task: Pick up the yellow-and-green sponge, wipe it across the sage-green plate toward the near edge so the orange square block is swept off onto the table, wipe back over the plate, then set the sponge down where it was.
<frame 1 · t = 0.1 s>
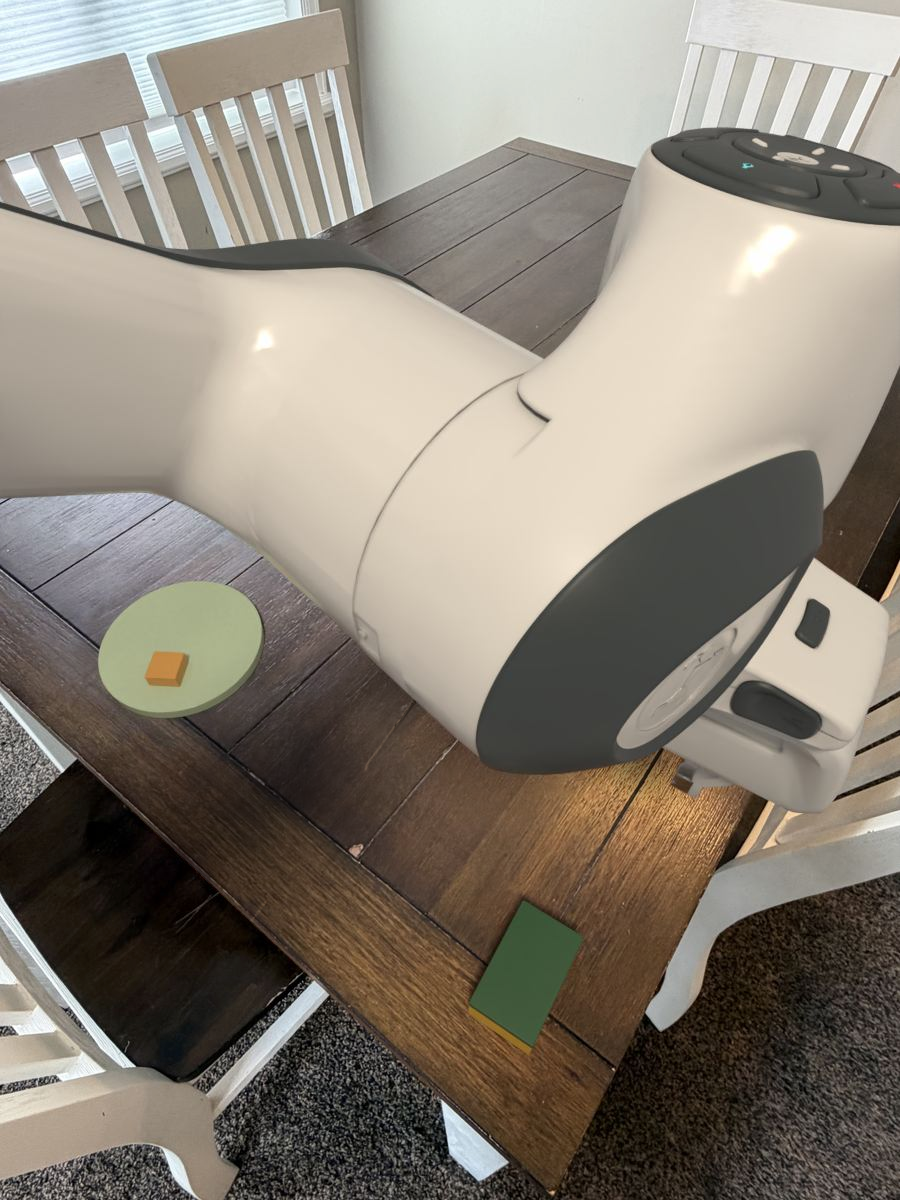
hand: (605, 740, 41), 24 cm above the table, tool pointing down, fingers open, 8 cm apart
orange square block: (169, 673, 70), point 1 cm above the table, touching plate
plate: (184, 648, 74), on the table
pill bottle: (641, 683, 71), on the table
sponge: (524, 981, 54), on the table
flask: (544, 579, 79), on the table
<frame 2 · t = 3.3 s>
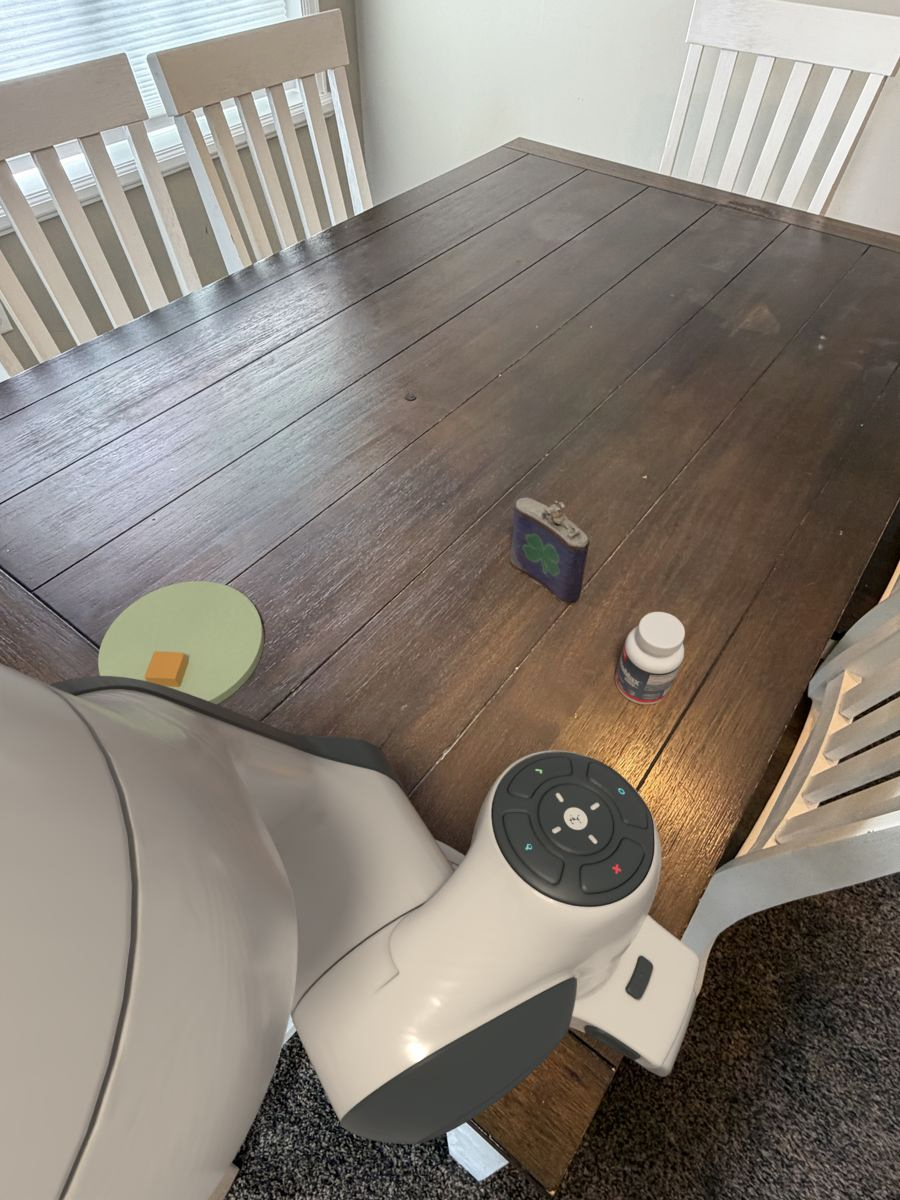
hand: (525, 976, 53), 2 cm above the table, tool pointing down, fingers closed on sponge, 5 cm apart
sponge: (523, 980, 54), on the table, touching gripper
everything else where it was.
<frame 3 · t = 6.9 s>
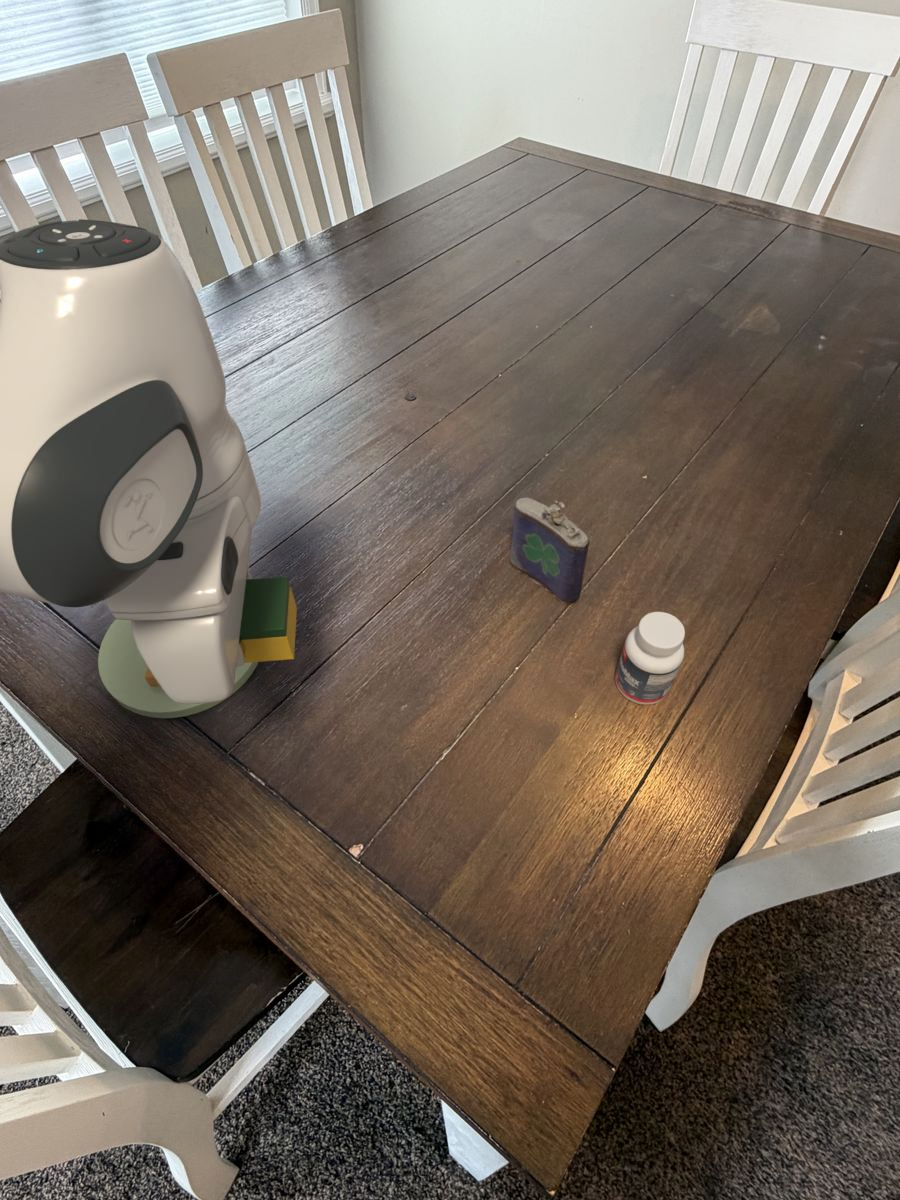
hand: (238, 624, 56), 16 cm above the table, tool pointing down, fingers closed on sponge, 5 cm apart
sponge: (244, 636, 57), point 14 cm above the table, touching gripper
everything else where it was.
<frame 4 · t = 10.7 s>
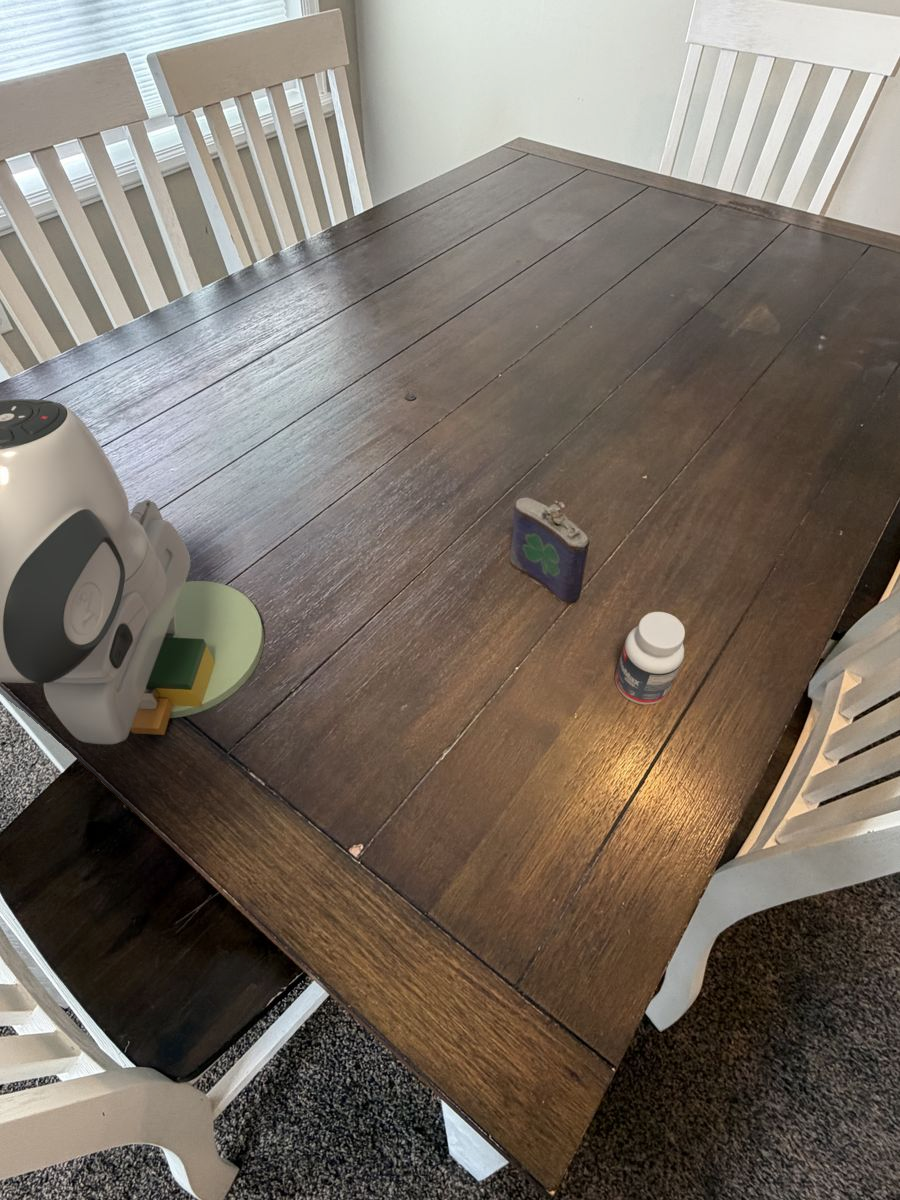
hand: (160, 673, 69), 3 cm above the table, tool pointing down, fingers closed on sponge, 5 cm apart
orange square block: (153, 719, 67), point 1 cm above the table, touching gripper, sponge
sponge: (167, 682, 70), point 1 cm above the table, touching orange square block, gripper
everything else where it was.
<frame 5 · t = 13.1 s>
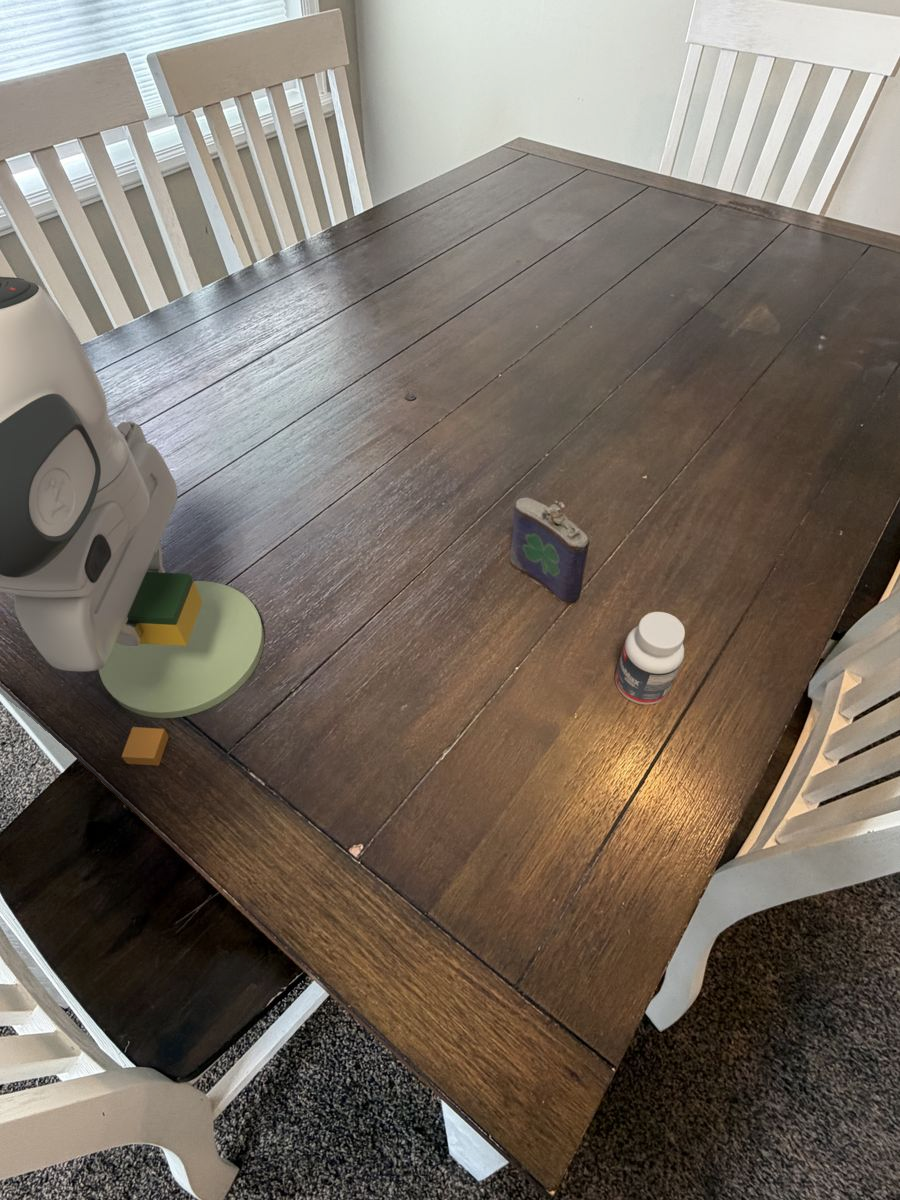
hand: (144, 610, 65), 10 cm above the table, tool pointing down, fingers closed on sponge, 5 cm apart
orange square block: (148, 750, 67), on the table
sponge: (151, 621, 66), point 8 cm above the table, touching gripper
everything else where it was.
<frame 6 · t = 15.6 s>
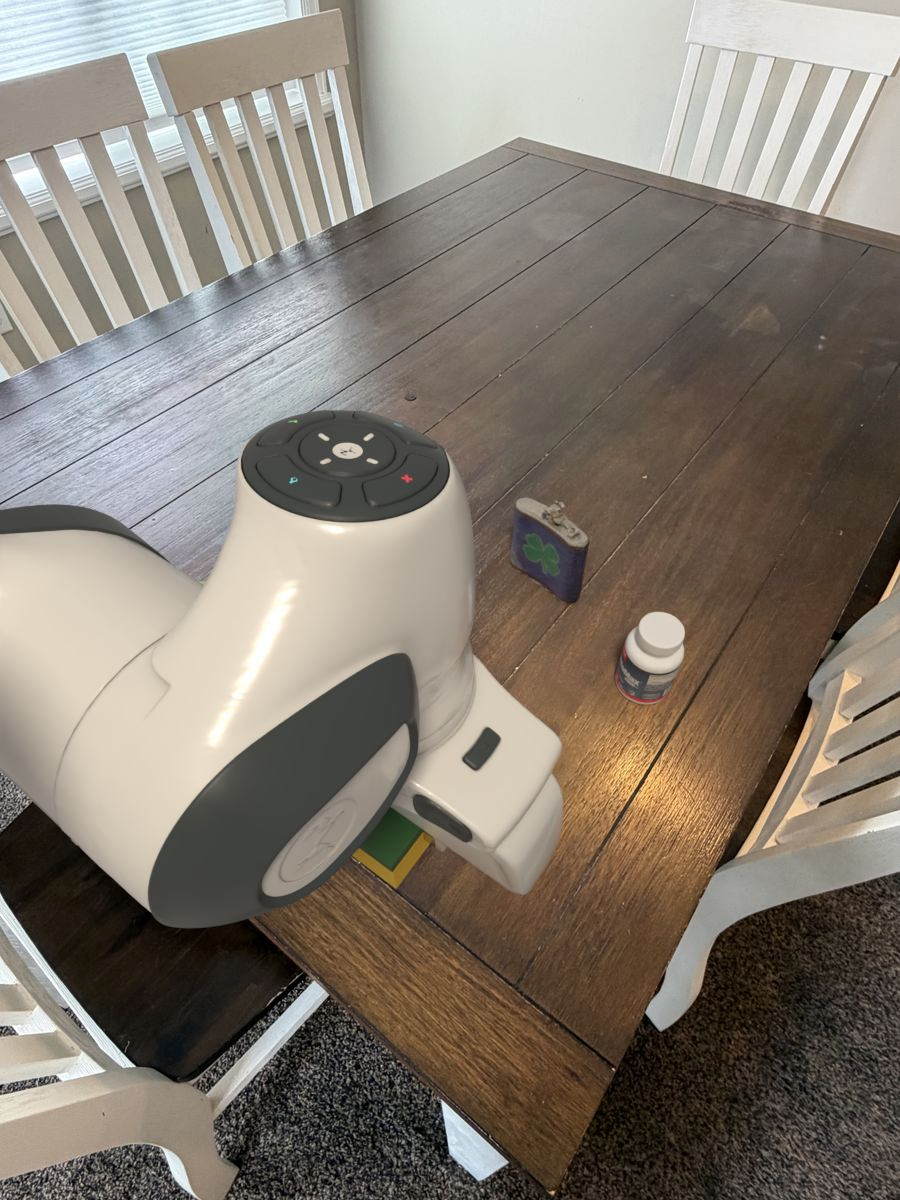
hand: (402, 809, 47), 15 cm above the table, tool pointing down, fingers closed on sponge, 5 cm apart
sponge: (404, 816, 49), point 13 cm above the table, touching gripper
everything else where it was.
when the fingers open (1 cm above the table, at t = 19.9 s): sponge stays where it is, on the table.
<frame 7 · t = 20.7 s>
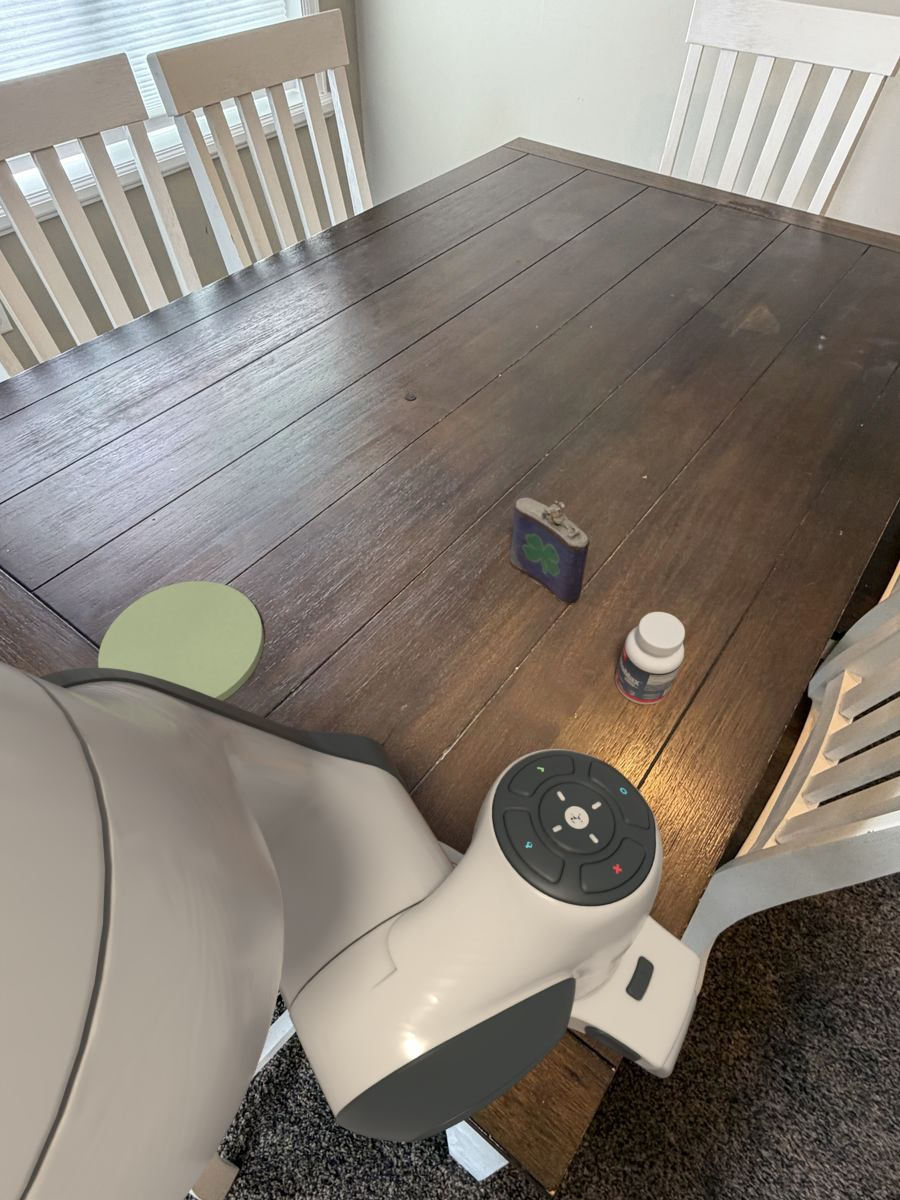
hand: (525, 977, 53), 2 cm above the table, tool pointing down, fingers open, 8 cm apart
sponge: (525, 977, 55), on the table
everything else where it was.
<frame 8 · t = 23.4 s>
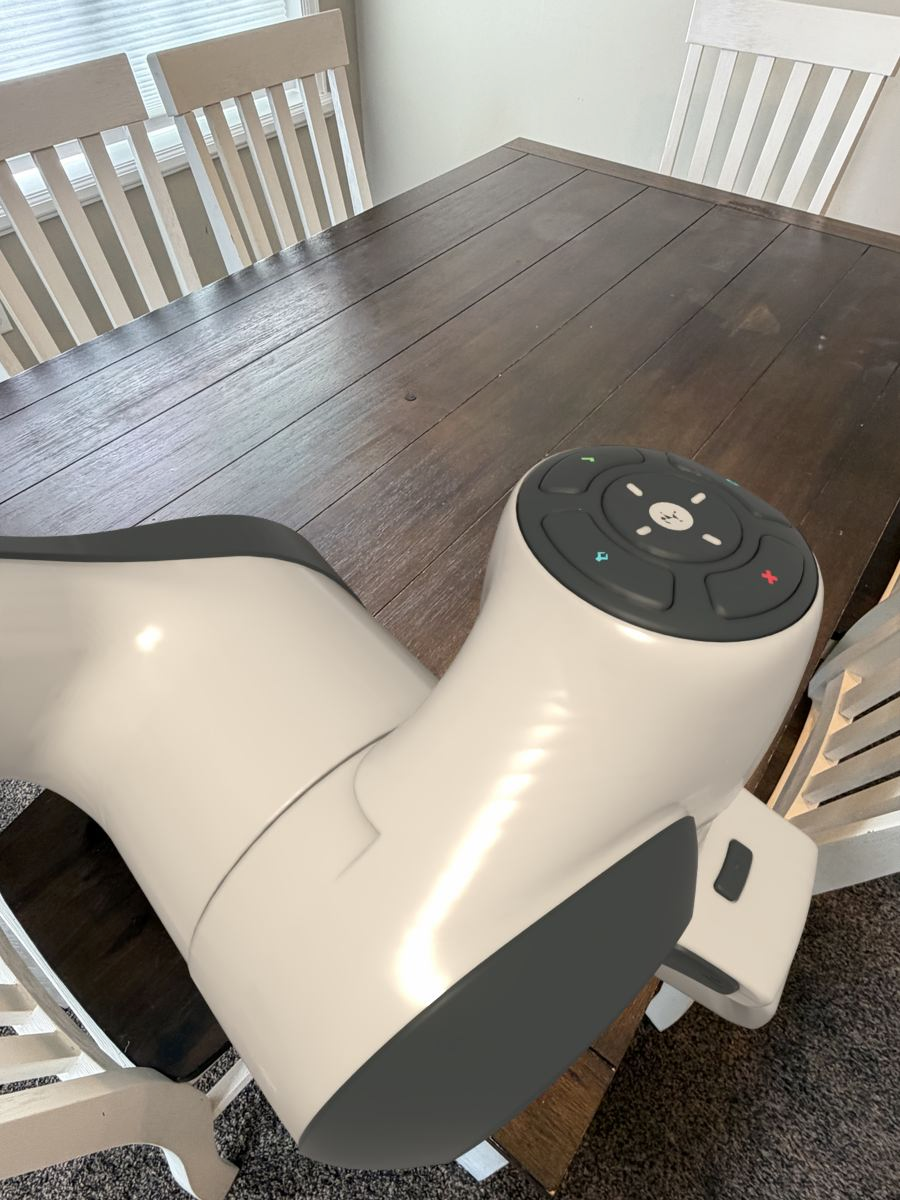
hand: (547, 905, 40), 19 cm above the table, tool pointing down, fingers open, 8 cm apart
nothing on the table moved.
at the end: orange square block touching table; orange square block inside the target area (0.8 cm from its centre), on the table; sponge inside the target area (0.3 cm from its centre), on the table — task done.
